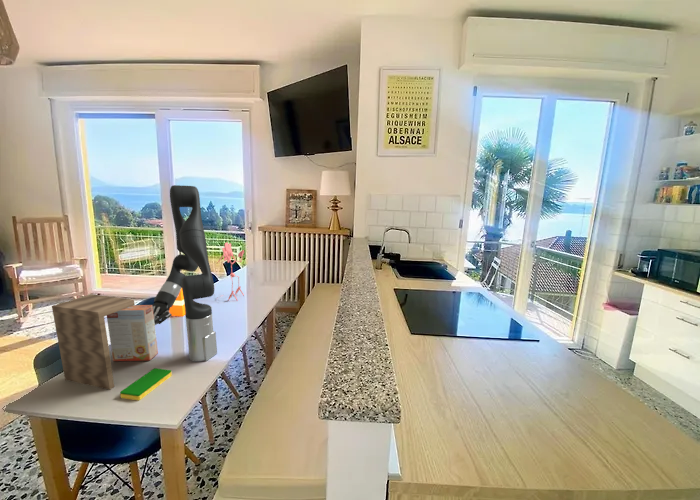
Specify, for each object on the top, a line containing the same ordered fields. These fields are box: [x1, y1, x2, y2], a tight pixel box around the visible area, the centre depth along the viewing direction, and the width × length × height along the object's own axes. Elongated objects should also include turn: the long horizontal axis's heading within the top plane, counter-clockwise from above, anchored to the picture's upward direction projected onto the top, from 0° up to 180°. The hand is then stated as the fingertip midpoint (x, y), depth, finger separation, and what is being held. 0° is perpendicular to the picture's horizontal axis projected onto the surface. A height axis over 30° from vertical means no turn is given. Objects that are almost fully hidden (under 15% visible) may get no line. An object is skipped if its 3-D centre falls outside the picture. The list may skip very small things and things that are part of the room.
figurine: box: [216, 241, 245, 302], centre depth 184 cm, size 15×26×35 cm, turn 175°
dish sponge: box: [119, 367, 173, 401], centre depth 101 cm, size 7×14×2 cm, turn 170°
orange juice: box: [169, 288, 185, 317], centre depth 161 cm, size 8×9×20 cm
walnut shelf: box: [51, 293, 135, 391], centre depth 105 cm, size 20×12×27 cm, turn 76°
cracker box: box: [106, 304, 159, 362], centre depth 117 cm, size 14×6×21 cm, turn 92°
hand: (146, 332), depth 122 cm, fingers closed
